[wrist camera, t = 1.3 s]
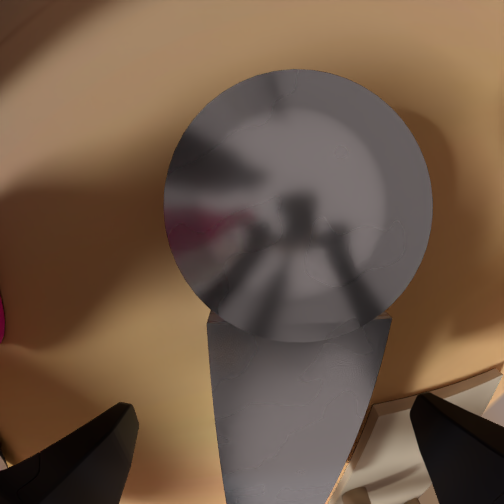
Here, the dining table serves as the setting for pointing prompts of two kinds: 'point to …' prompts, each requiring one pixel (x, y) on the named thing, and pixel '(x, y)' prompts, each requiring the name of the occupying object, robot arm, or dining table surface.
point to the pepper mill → (1, 321)
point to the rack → (402, 447)
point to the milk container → (2, 462)
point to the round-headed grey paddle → (295, 267)
